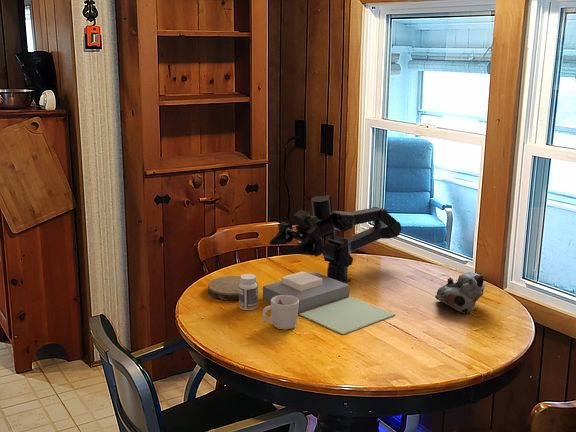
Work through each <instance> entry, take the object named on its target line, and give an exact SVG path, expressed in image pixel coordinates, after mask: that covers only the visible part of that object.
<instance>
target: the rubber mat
mask: <svg viewBox="0 0 576 432" xmlns="http://www.w3.org/2000/svg"><path fill="white" fill-rule="evenodd" d="M299 316H300V317H303V318H305V319H307V320H309V321H311V322H313V323H316V324H318V325H320V326H322V327H325V328H326V329H329V330H331V331H333V332H335V333H337V334H340V335H342V336H344V335H348V334H351V333H352V332H355V331H358V330H360V329H363V328H365V327H368V326H370V325H371V326H372V325H374V324H376V323H379V322H381V321H384V320H388V319H390V318H392V317H395V316H396V313H394V312H391V311H388V310H385V309H384V308H381V307H378V306H376V305H373V304H371V303H368V302H365V301H363V300H360V299H358V298H356V297H353V296H349V297H347V298H344V299H341V300H338V301H335V302H332V303H329V304H326V305H323V306H320V307H317V308H314V309H311V310H308V311H305V312H302V313H299Z"/></svg>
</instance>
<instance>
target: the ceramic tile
mask: <svg viewBox="0 0 576 432" xmlns="http://www.w3.org/2000/svg"><path fill="white" fill-rule="evenodd" d="M309 273H310V272H306V271H302V270H301V271H299V272H294V273H291V274H288V275H284V276H282V277H281V281H282V283H283V284H285V285H288V286H290V287H292V288H295V289H297V290H299V291H303V290H307V289H310V288H313V287H316V286H320V285H322V278H319V277H317V276H314V275H312V274H309Z"/></svg>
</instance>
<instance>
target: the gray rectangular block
mask: <svg viewBox="0 0 576 432" xmlns="http://www.w3.org/2000/svg"><path fill="white" fill-rule="evenodd" d="M308 273H309V274H312V275H314V276H317V277H319V278H322V285H320V286H316V287H313V288H310V289H307V290H303V291H299V290H297V289H295V288H292V287H290V286H288V285H285V284H283V283H282V280H280V281H277V282H273V283H270V284H266V285H264V286H262V299H264V300H265V301H268V302H269V303H271V299H272V298H273V297H275V296H278V295H290V296H294V297H296V298H298V299H299V307H298V314H300V313H303V312H306V311H309V310H312V309H315V308H318V307H321V306H325V305H328V304H331V303H334V302H337V301H340V300H343V299H346V298H349V297H350V284H349V283H346V282H344V283H343V282H340V281H337V280H335V279H332V278H330V277H327V275H324V274H321V273H318V272H316V271H312V272H308Z"/></svg>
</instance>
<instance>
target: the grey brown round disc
mask: <svg viewBox="0 0 576 432" xmlns="http://www.w3.org/2000/svg"><path fill="white" fill-rule="evenodd" d="M240 277H241V276H240V275H226V276H221V277H220V276H219V277H217V278H214V279H211V280H210V281H208V283H207V294H208V296H209V297H210V298H211V299H213V300H218V301H221V302H228V303H229V302H230V303H234V302H239V284H240V283H241V280H240ZM255 282H256V283H257V285H258V286H259V284H258V281H257V280H256V281H255Z"/></svg>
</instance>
